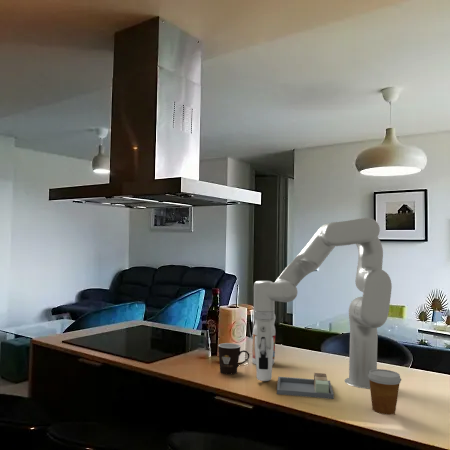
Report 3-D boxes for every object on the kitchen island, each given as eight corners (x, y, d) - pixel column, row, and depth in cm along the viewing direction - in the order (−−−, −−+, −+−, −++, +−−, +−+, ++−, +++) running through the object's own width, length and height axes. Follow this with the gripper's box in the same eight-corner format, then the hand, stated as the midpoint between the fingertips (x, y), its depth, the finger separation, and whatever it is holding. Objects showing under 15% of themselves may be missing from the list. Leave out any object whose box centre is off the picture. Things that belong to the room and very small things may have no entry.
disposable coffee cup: (366, 416, 130) (366, 374, 131) (367, 406, 139) (368, 367, 140) (400, 422, 127) (401, 379, 128) (400, 411, 136) (401, 371, 137)
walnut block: (325, 385, 156) (325, 373, 156) (326, 388, 152) (326, 376, 152) (313, 384, 156) (314, 372, 157) (314, 387, 152) (314, 375, 153)
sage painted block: (327, 393, 147) (327, 381, 147) (328, 397, 143) (328, 384, 143) (315, 392, 148) (315, 380, 148) (315, 396, 144) (316, 383, 144)
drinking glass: (261, 375, 163) (261, 334, 164) (277, 378, 159) (277, 336, 160) (250, 379, 158) (250, 336, 159) (266, 383, 154) (266, 339, 155)
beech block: (326, 389, 151) (326, 377, 152) (327, 392, 147) (327, 380, 148) (314, 388, 152) (314, 376, 152) (315, 391, 148) (315, 379, 148)
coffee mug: (212, 371, 171) (213, 345, 172) (227, 367, 177) (228, 342, 178) (235, 378, 163) (236, 350, 164) (250, 374, 170) (251, 347, 170)
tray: (329, 387, 157) (329, 380, 157) (333, 402, 142) (333, 394, 142) (278, 383, 159) (278, 376, 159) (276, 397, 144) (276, 389, 145)
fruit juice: (248, 361, 189) (250, 294, 190) (267, 359, 193) (269, 294, 194) (258, 366, 180) (260, 297, 182) (278, 365, 184) (280, 297, 185)
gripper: (273, 319, 151) (273, 373, 150) (275, 312, 168) (275, 360, 167) (251, 319, 152) (251, 372, 151) (255, 311, 169) (255, 359, 168)
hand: (264, 366), depth 159 cm, fingers closed on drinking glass, 6 cm apart
